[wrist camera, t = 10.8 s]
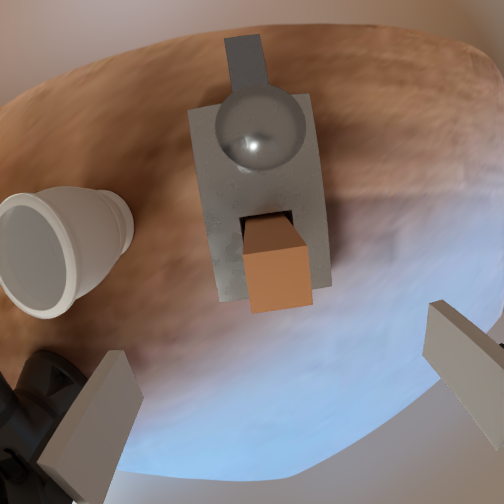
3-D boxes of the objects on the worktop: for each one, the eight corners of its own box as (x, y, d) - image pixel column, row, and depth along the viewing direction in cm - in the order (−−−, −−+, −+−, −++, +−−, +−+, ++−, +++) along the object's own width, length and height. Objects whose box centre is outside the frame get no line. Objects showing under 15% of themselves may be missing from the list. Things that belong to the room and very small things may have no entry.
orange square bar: (251, 252, 34) (252, 313, 19) (246, 217, 33) (242, 254, 18) (286, 247, 34) (312, 304, 19) (282, 212, 33) (307, 245, 18)
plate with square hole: (222, 289, 35) (200, 393, 18) (190, 95, 29) (131, 26, 12) (324, 275, 35) (383, 366, 17) (299, 80, 29) (346, -1, 11)
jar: (58, 226, 33) (-22, 259, 18) (99, 163, 31) (14, 165, 16) (112, 282, 35) (48, 342, 20) (160, 221, 33) (99, 260, 18)
